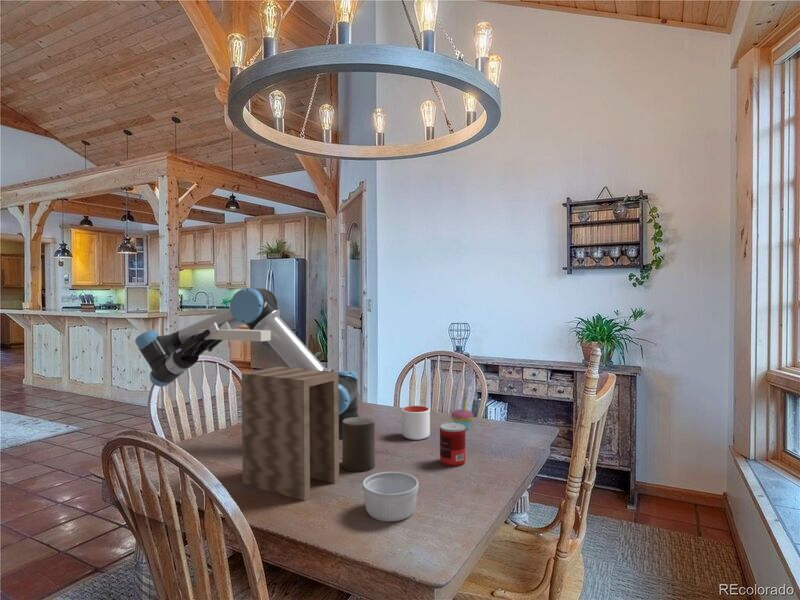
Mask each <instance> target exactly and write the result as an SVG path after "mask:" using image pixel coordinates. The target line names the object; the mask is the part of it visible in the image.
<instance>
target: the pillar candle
mask: <svg viewBox="0 0 800 600" xmlns="http://www.w3.org/2000/svg"><path fill="white" fill-rule="evenodd" d="M375 422H376V421H375V419H374V418H372V417H370V416H369V417H367V416H360V415H359V416H358V417H352V418H347V419H344V420H343V439H342V468H343V469H345V470H346V471H349V472H353V473H354V472H355V473H358V472H368V471H370V470H372V469H374V468H375V466H376V440H375V439H376V437H375V436H376V428H375V427H376V425H375V424H376V423H375Z"/></svg>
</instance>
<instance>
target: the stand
mask: <svg viewBox="0 0 800 600" xmlns="http://www.w3.org/2000/svg"><path fill="white" fill-rule="evenodd" d="M241 428H242V429H241V434H242V435H241V436H242V437H241V439H242V442H241V443H242V446H241V448H242V484H243V485H245V486H249V485H250V487H254V488H257V489H261V490H263V491H268V492H271V493H275V494H279V495H282V496H286V497H288V498H289V497H291V498H293V499H296V500H301V501H307V500H309V499H310V498H311V479H313V478H314V480H317V479H318V481H321V480H322V481H323V482H325V481H326V483H330V484H337V483H338V482H340V439H339V405H338V372H333V371H322V370H311V369H300V368H290V366H288V367H286V366H275V367H269V368H263V369H259V370H253V371H249V372H242V373H241ZM322 481H321V482H322Z"/></svg>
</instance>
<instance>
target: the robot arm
mask: <svg viewBox="0 0 800 600" xmlns="http://www.w3.org/2000/svg"><path fill="white" fill-rule="evenodd" d="M229 302H230V303H229V308H228V309H226V310H224V311H221V312H218V313H216V314H214V315H211V316H210V317H208V318H207V317H206V318H205V319H203V320H201V321H198V322H196V323H194V324H191V325H188V326H186V327H184V328H182V329H179V330H177V331H175V332H173V333H169V334H166V335H160V334H159V333H158V332H157V331H156V330H155V329H149V330H147V331H144V332H143V333H140V334H139V335H138V336H137V337H136V338H135V340H134V342H135V343H134V344H136V346H137V348H138V351H140V353H141V355H142V356H143V358H144V360H145V361H146V362H147V364H148V365H149V368H150V369H151V371H150V372H149V379H150V381H151V383H152V384H154V386H157V387H159V388H163V387H166V386H168V385H170V384H171V383H172V382H175V380H176V379H178V377H180V376H181V375H184V373H185V372H186V371H188V370H189V369H190V368H191V367H192V366H194V365H195V364H196V363H197V362H198V360H199V357H200V355H202V354H203V353H204V352H205V351H208V353H210V352H212V351H213V350H214V349H215V348H216V347H217V346H218V345H219V344H220V343H222V341H224V340H217V339H209V338H210V337H211V336H212V335H214V334H215V333H216V332H217V331H218V330H219V329H237V328H240V327H241V326H244V325H246V327H248V330H271V340H268V341H266V342H267V343H268V344H269V345H270V346H271V347H272V349H273V350H274V351H275V352H276V353H277V354H278V355H279V356H280V358H281V359H282V360H283V361H284V362H285V363H286V364H287V365H288V367H289V368H300V369H311V370H322V371H333V372H338V405H339V440H343V420H344V419H347V418H352V417H358V416H359V417H360V414H359V411H358V410H359V409H358V406H359V404H358V403H359V402H358V395H359V393H358V391H359V389H358V381H359V378H358V373H357V372H356V371H353V370H352V371H351V370H334V369H333V368H330V367H329V368H326V367H325V366H324V364H323V363H321V361H320V360H319V359H318V358H317V357H316V356H315V354H313V353H312V351H310V349H309V348H308V347H307V346H306V344H304V342H303V341H302V340H301V339H300V338H299V337H298V335H296V334H295V332H294V331H293V330H292V329H291V328H290V327H289V326H288V324H286V322H285V321H284V320H283V319H282V318H281V317H280V313H281V310H280V309H279V308H278V300H277V297H276V295H275V294H274V293H273V292H272V291H271V290H269V289H266V288H255V287H245V288H241V289H240V290H238V291H236V292H235V293H234V294H233V296H232V297H231V298H230V301H229ZM199 329H206V330H205V331H204V332H203V333H200V334H199ZM204 338H205V339H204Z"/></svg>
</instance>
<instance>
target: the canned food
mask: <svg viewBox="0 0 800 600" xmlns="http://www.w3.org/2000/svg"><path fill="white" fill-rule="evenodd" d="M439 461H440V463H441V464H442V465H443V466H445V467H461V466H463V465H464V464H465V462H466V430H465V426H464V425H462V424H459V423H455V422H446V423H442V424H441V425H439Z"/></svg>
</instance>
